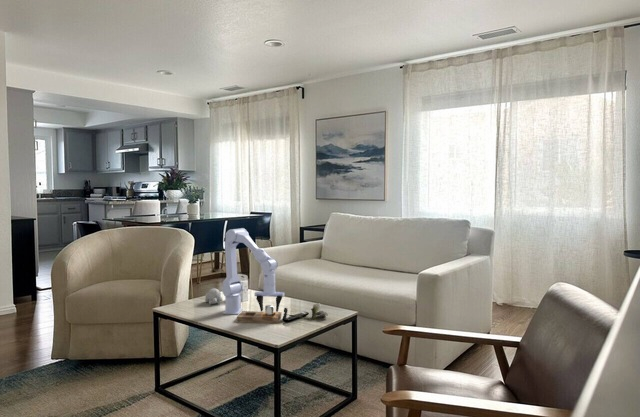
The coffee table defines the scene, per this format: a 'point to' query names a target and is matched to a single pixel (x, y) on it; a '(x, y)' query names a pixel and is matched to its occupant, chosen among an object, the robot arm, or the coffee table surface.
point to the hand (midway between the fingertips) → (269, 311)
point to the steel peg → (269, 310)
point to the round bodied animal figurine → (213, 296)
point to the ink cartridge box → (244, 287)
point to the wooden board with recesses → (258, 317)
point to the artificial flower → (314, 312)
